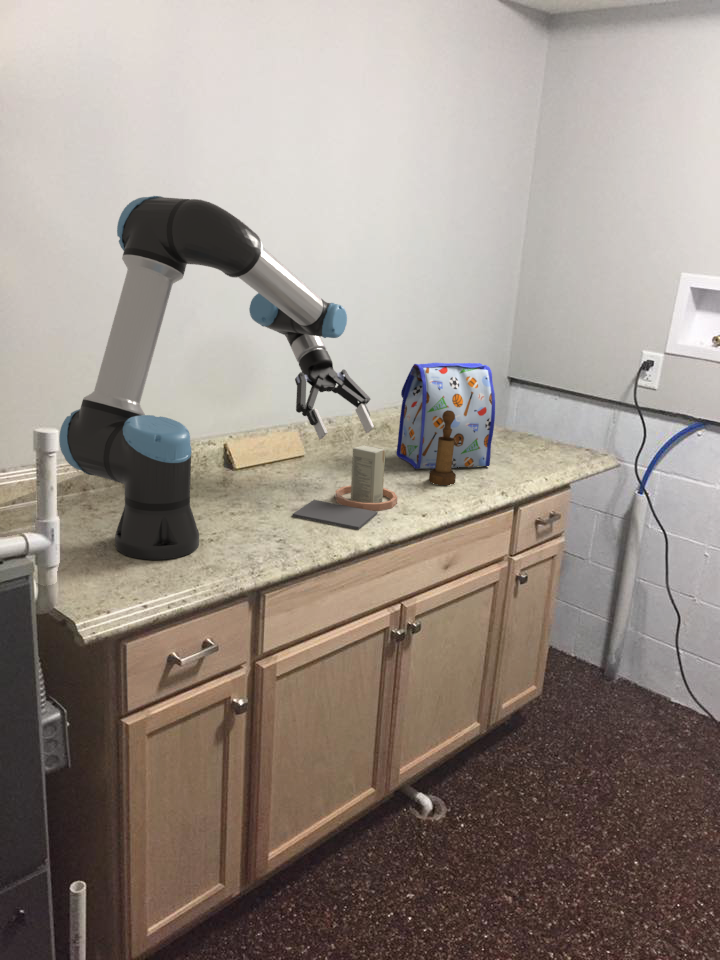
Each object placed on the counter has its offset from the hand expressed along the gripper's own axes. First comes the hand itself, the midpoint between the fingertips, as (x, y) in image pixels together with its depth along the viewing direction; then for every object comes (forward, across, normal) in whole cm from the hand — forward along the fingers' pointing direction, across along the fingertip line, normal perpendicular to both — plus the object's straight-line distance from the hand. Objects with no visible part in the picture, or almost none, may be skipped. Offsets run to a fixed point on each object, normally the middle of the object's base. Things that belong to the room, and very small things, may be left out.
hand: (347, 433), depth 192 cm
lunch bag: (+5, -39, -14) cm, 42 cm away
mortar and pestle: (+14, -26, -5) cm, 30 cm away
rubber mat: (+19, +13, 0) cm, 23 cm away
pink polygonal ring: (+16, +1, -3) cm, 16 cm away
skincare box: (+16, +1, -3) cm, 16 cm away
